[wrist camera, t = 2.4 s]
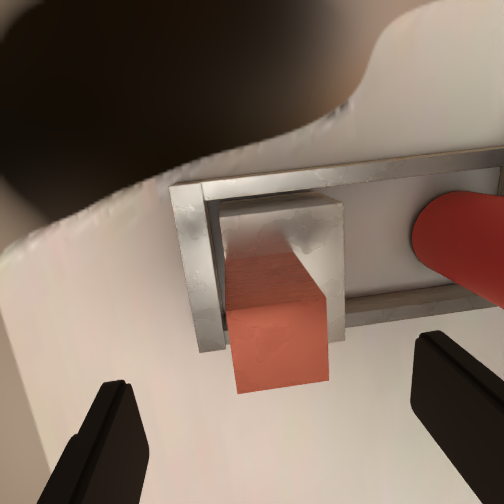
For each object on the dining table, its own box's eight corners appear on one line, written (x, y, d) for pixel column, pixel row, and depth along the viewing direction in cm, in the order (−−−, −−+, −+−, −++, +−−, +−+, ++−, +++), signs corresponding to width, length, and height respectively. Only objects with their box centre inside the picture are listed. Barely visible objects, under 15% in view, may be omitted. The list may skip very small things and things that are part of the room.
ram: (313, 191, 23) (403, 227, 11) (318, 299, 26) (393, 414, 14) (220, 201, 22) (216, 250, 11) (235, 310, 25) (244, 438, 14)
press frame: (541, 141, 23) (722, 133, 15) (514, 288, 27) (647, 348, 19) (175, 182, 22) (145, 200, 14) (202, 331, 26) (191, 417, 17)
